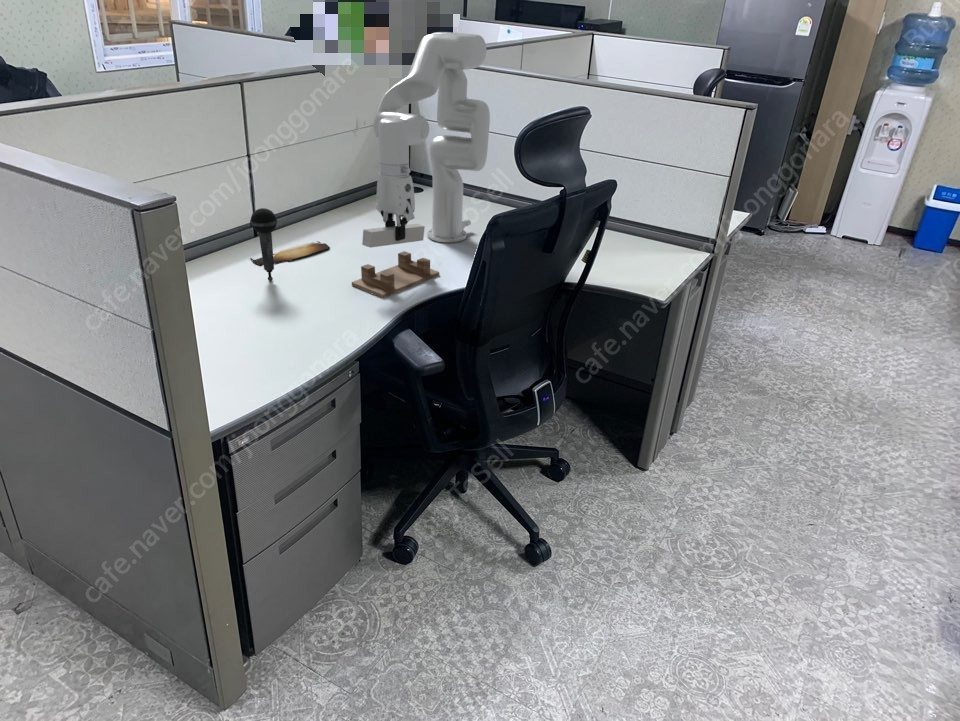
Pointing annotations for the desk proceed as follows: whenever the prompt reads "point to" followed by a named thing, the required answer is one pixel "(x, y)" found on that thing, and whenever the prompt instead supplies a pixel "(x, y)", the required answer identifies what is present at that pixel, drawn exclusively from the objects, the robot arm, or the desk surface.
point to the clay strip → (391, 235)
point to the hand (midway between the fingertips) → (395, 237)
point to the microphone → (265, 236)
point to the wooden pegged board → (395, 276)
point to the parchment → (294, 252)
